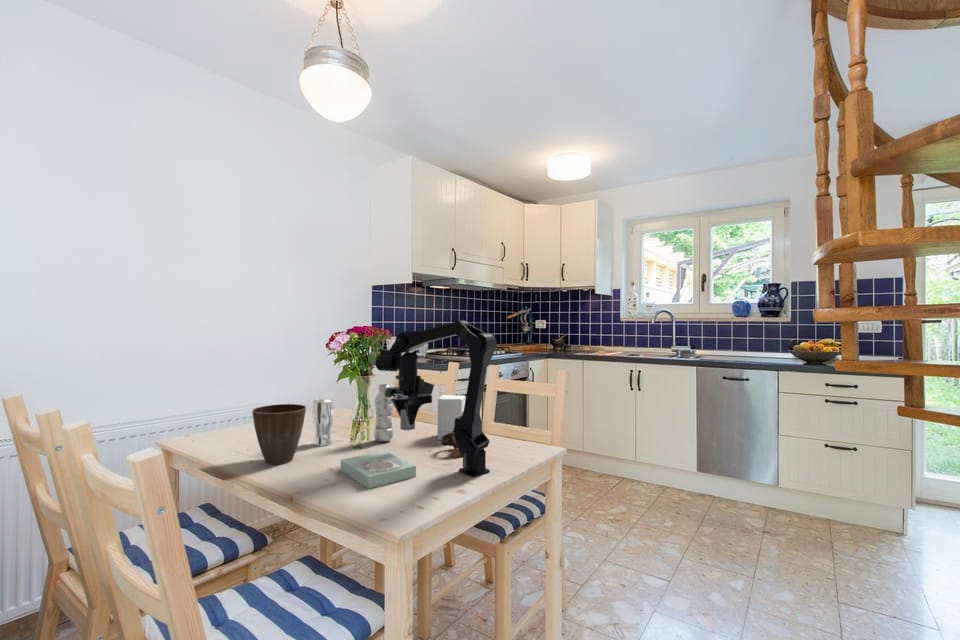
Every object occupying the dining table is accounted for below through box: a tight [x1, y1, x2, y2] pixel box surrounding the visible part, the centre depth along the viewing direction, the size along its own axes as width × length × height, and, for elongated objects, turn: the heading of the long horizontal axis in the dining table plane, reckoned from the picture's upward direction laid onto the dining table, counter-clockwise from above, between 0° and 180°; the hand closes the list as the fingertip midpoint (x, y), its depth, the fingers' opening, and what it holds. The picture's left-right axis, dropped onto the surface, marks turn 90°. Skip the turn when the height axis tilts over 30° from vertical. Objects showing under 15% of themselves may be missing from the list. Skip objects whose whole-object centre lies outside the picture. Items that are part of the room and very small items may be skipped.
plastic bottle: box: [373, 383, 394, 443], centre depth 156 cm, size 6×7×20 cm
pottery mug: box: [440, 432, 463, 458], centre depth 144 cm, size 12×10×8 cm
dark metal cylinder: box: [399, 408, 416, 431], centre depth 135 cm, size 4×4×6 cm
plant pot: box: [251, 403, 307, 465], centre depth 134 cm, size 15×15×16 cm
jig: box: [340, 450, 417, 490], centre depth 123 cm, size 18×14×3 cm
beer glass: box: [311, 398, 335, 447], centre depth 153 cm, size 7×7×15 cm
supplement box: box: [437, 394, 466, 441], centre depth 162 cm, size 9×9×15 cm
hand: (407, 423), depth 135 cm, fingers closed on dark metal cylinder, 4 cm apart
